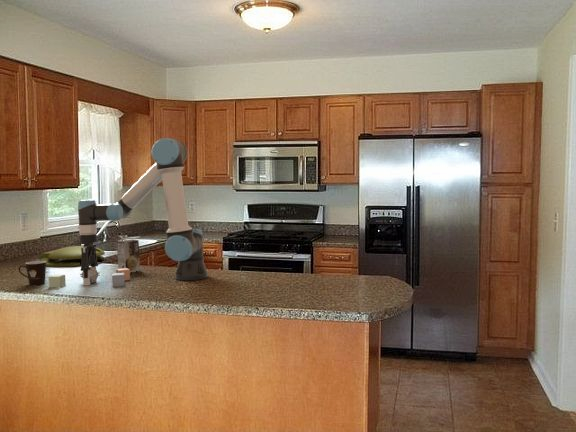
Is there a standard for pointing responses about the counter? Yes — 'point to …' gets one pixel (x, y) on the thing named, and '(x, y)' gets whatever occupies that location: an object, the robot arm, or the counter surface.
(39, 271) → the coffee mug
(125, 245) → the coffee box
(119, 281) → the slate cube
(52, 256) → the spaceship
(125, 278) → the terracotta cube
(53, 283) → the sage cube
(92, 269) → the game die
